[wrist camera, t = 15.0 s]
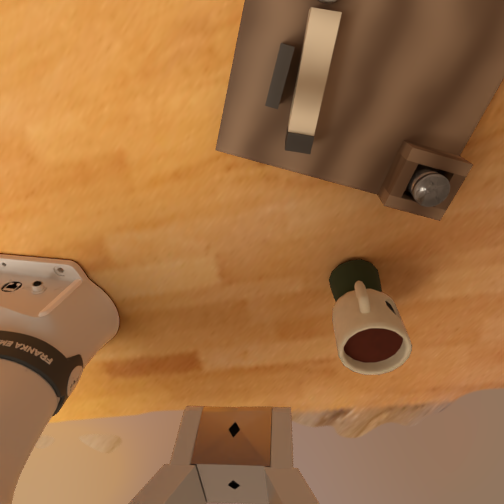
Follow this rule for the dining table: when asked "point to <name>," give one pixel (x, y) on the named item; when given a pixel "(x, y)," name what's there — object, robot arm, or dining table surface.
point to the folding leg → (311, 77)
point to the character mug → (366, 321)
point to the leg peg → (428, 186)
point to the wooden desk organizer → (369, 91)
